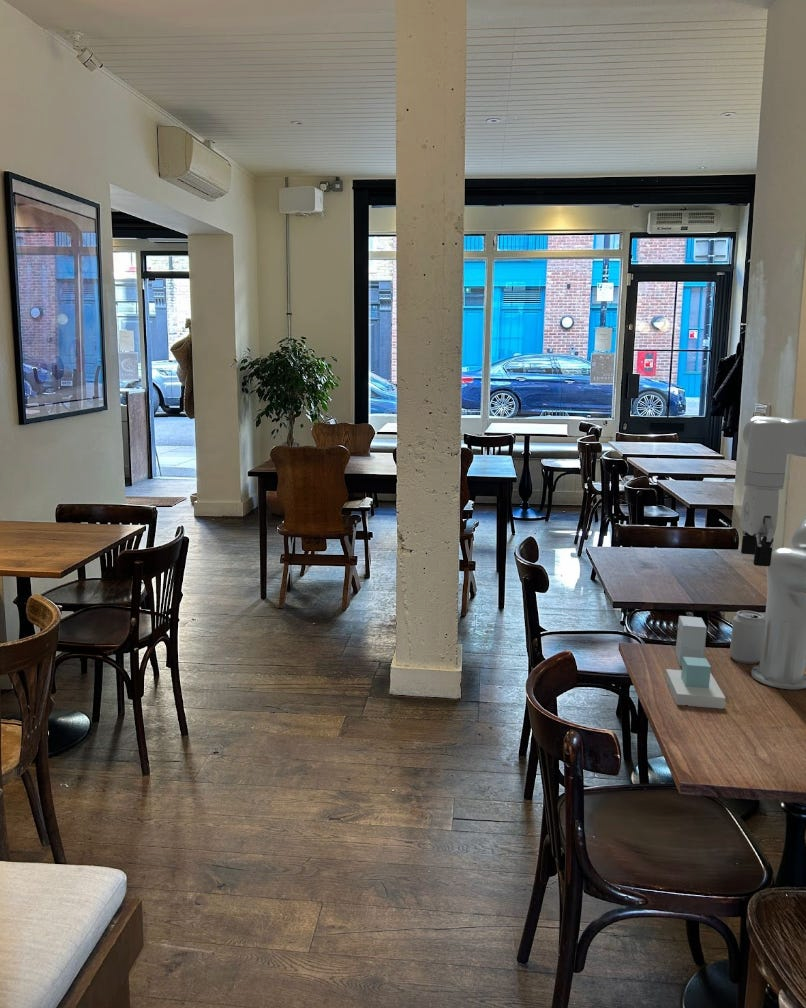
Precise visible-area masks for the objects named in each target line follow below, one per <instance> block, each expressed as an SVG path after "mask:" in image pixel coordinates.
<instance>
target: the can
mask: <svg viewBox="0 0 806 1008" xmlns="http://www.w3.org/2000/svg"><path fill="white" fill-rule="evenodd" d="M764 621H765V616H764V614H762V613H760V612H757V611H753V610H738V611H736V615H734V617H733V619H732V627H731V629H732V630H731V637H730V647H729V656H730V657H731V658H732V659H733V660H734V661H735V662H738V663H742V664H747V665H753V664H757V663H758V662H759V663H760V655H761V647H762V638H763V630H764Z"/></svg>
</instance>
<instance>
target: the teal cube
mask: <svg viewBox="0 0 806 1008" xmlns="http://www.w3.org/2000/svg"><path fill="white" fill-rule="evenodd" d="M681 670H682V671H681V679H682V681H683V683H684V685H685V686H687V687H700V688H709V682H710V673H711V671H712V666H711V664H710V663H709V661H708V660H707V658H706V657H704V658H694V657H683V661H682V666H681Z"/></svg>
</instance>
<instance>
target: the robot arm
mask: <svg viewBox="0 0 806 1008" xmlns="http://www.w3.org/2000/svg"><path fill="white" fill-rule="evenodd" d="M742 439H743V442H744V445H745V446H746V447H747V454H746V457H747V458H746V464H745V471H744V472H745V473H744V483H743V485H744V487H745V490H744V494H743V500H742V504H741V505H742V506H741V511H740V519H739V527H740V528H741V529H742V531H743V532H742V540H741V550H740V553H741V554H742V555H753V562H752V563H753V565H754V566H755V567H756V566H757V567H766V568H765V569H766V583H767V591H766V592H767V593H766V594H767V595H766V605H765V614H764V615H765V616H764V620H765V621H764V630H763V638H762V647H761V655H760V661H759V664H758V665H755V666H753V667H752V668H751V670H750V671H751V673H750V674H751V677H752V678H754V679H755V680H756V681H757V682H760V683H762V684H764V685H767V686H770V687H773V688H777V689H783V690H784V689H785V690H803V689H806V673H805V669H806V514H805V516H804V517H803V518H802V520H801V521H800V523H799V525H798V526H797V527H796V529H795V531H794V533H793V535H792V538H791V547H788V546H787V547H785V546H784V547H779V548H775V549H774V550H773V548H774V539H775V538H774V536H775V534H776V530H777V525H778V524H777V523H778V517H779V516H778V515H779V498H780V495H779V494H780V491H781V490H783V489H784V486H785V485H784V484H785V476H786V468H787V461H788V455H790V456H795V457H801V458H806V418H789V417H779V416H767V415H755V416H752V417H751V418H750V419H749V420H747V422H746V423H745V425H744V427H743V430H742Z"/></svg>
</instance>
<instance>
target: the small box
mask: <svg viewBox="0 0 806 1008" xmlns="http://www.w3.org/2000/svg"><path fill="white" fill-rule="evenodd" d="M707 629H708V627H707V625H706V624H705V621H704V620H703V618H702V617H697V616H685V615H679V616H678V622H677V633H676V634H677V635H676V643H675V658H676V660H677V662H678V665H679V667H682V661H683V657H694V658H705V652H706V643H707V642H706V641H707V640H706V639H707Z"/></svg>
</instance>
